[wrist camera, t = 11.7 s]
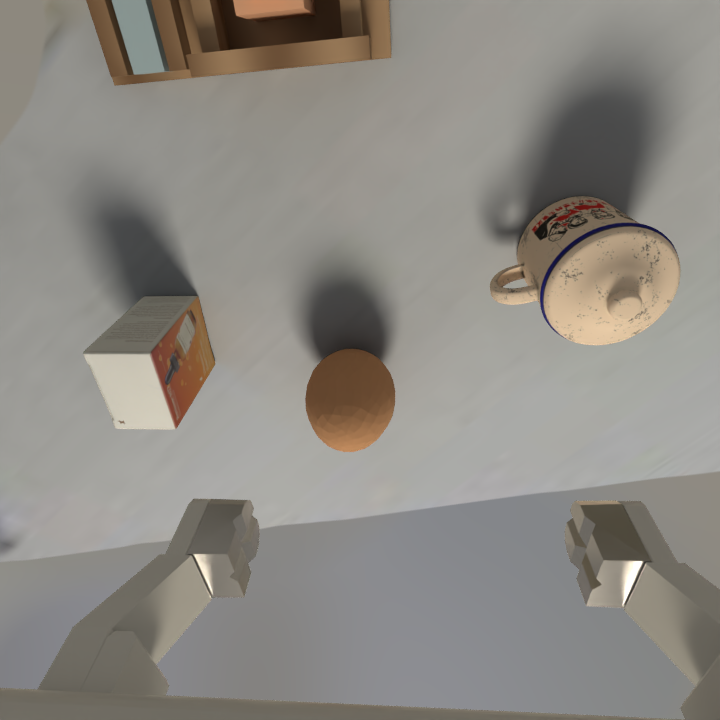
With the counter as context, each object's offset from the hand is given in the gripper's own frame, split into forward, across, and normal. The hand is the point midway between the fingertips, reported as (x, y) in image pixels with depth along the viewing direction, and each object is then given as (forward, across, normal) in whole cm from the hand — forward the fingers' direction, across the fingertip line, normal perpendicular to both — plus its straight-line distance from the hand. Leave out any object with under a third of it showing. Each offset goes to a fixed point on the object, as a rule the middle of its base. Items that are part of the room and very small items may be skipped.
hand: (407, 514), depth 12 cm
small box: (+31, +22, +12) cm, 40 cm away
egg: (+31, +5, +16) cm, 35 cm away
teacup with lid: (+31, -13, +5) cm, 34 cm away
